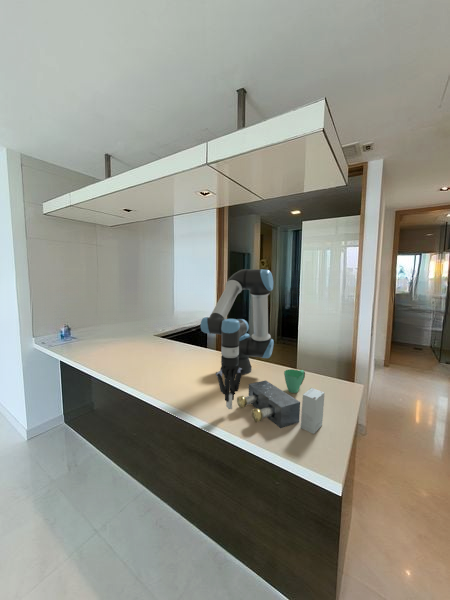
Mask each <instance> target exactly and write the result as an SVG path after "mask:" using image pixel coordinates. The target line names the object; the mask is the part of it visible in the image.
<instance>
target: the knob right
mask: <svg viewBox="0 0 450 600" xmlns="http://www.w3.org/2000/svg"><path fill="white" fill-rule="evenodd" d="M272 415H275V408H274V407H273V406H271V407H268V408H264V409H259V408H252V409H251V418H252V420H253V422H254V423H260V422H262V421H263V419H265V418H267V417H269V416H272Z"/></svg>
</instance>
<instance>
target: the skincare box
mask: <svg viewBox="0 0 450 600" xmlns="http://www.w3.org/2000/svg"><path fill="white" fill-rule="evenodd" d="M301 401H302V402H301V405H302V406H301V414H300V415H301V416H300V418H301V419H300V428H301V429H302V430H303V431H306V432H308V433H310V434H312V435H315V434H316V433H317V432H318V430H319V429H320V428H321V427H322V426H323V421H324V419H323V418H324V405H325V403H324V402H325V392H324V391H321V390H318V389H316V388H314V387H311V388H310V389H308V390H306V392H304V393H303V394H302V400H301Z"/></svg>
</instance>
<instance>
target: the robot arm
mask: <svg viewBox="0 0 450 600" xmlns="http://www.w3.org/2000/svg"><path fill="white" fill-rule="evenodd" d="M273 289H274V278H273V274H272V272H271V271H270V270H269V269H262V268H261V269H258V268H257V269H250V268H249V269H247V268H246V269H240V270H237V272H235V273H233V274H232V275H231V276H230V277H228V279H227V280H226V283H225V288H224V290H223V292H222V294H221V296H220V297H219V299H218V301H217V303H216V304H215V307H214V308H213V310H212V312H211V314H210V316H209V317H208V316H207V317H202V319H201V321H200V330H201V332H203V333H204V334H209V335H210V334H211V335H220V336H221V346H220V347H221V350H220V351H221V353H220V354H221V356H220V359H221V361H220V363H221V364H220V365H221V366H220V370H219V371H218V372H217V371H216V372H215V376H216V378H217V381H218V385H219V389H220V391H219V392H221V394H222V395H224V401H225V402H226V403H225V404H226V405H225V406H226V408H227V409H228V410H232V409H233V401H234V399H235V395H236V392H238V391H239V388H240V383H241V380H242V375H247V374H249V373H251V372H252V365H251V361H250V357H255V358H256V357H257V358H262V359H269V358H270V357H272V353H273V350H274V345H275V342H274V341H275V340H274V339H273V338H272V336H271V334H270V333H269V309H268V308H269V304H268V303H269V302H268V301H269V300H268V299H269V298H268V296H269V295H271V292H272V291H273ZM243 290H246V291H247V290H248V291H249V294H250V295H251V296H252V315H253V317H252V319H253V322H252V323H253V333H252V334H251V335H250V334H249V333H248V332H249V328H250V326H249V323H248V321H247V320H245V319H243V318H237V319H236V318H227V316H228V315H229V313H230V311H231V309H232V307H233V305H234V302H235V300H236V298H237V296H238V295H239V294H240V293H242V291H243ZM223 378H224V379H223Z"/></svg>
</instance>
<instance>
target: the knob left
mask: <svg viewBox="0 0 450 600" xmlns="http://www.w3.org/2000/svg"><path fill="white" fill-rule="evenodd" d="M258 400H259V396H258V395H257V394H255V395H251V396H249V395H248V396H247V395H246V396H244V395H240V396H237V398H236V403H237V406H238V407H239V409H244V408H247V405H252V403H256V402H258Z"/></svg>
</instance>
